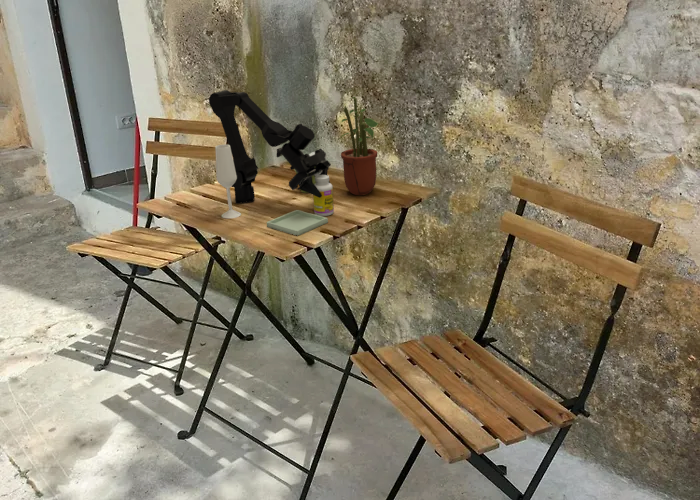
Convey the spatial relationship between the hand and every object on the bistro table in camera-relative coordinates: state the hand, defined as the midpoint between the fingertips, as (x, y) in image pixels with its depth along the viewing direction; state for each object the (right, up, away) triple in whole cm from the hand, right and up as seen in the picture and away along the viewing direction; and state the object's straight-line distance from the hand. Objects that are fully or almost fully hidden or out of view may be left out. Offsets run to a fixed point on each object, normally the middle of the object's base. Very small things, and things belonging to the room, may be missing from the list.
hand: (326, 193), depth 218 cm
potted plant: (+11, +3, +24) cm, 27 cm away
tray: (-9, -10, -5) cm, 15 cm away
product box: (-5, +13, +49) cm, 51 cm away
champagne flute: (-33, -7, +6) cm, 34 cm away
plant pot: (-8, +3, +27) cm, 28 cm away
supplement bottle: (-1, -6, +4) cm, 7 cm away
